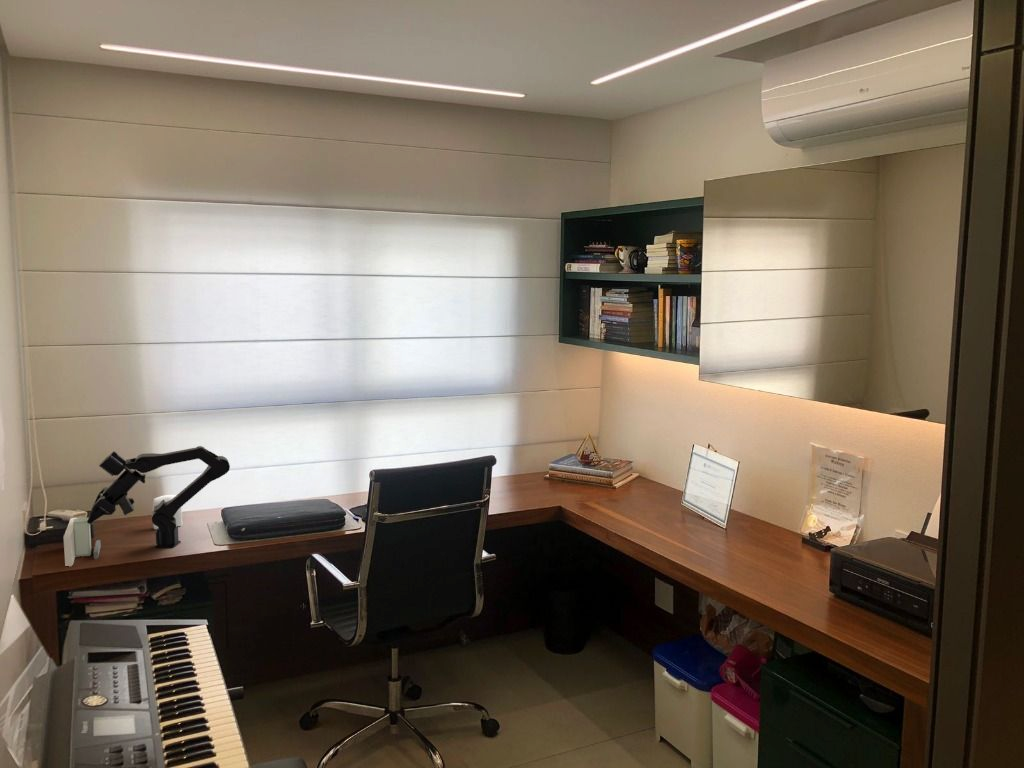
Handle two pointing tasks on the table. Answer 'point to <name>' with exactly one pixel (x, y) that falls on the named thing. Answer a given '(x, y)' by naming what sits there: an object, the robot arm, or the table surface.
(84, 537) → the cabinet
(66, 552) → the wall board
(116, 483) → the robot arm
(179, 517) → the photo printer
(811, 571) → the table surface
